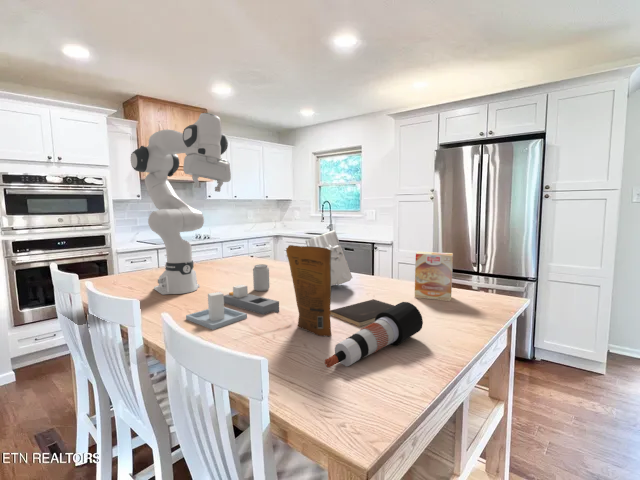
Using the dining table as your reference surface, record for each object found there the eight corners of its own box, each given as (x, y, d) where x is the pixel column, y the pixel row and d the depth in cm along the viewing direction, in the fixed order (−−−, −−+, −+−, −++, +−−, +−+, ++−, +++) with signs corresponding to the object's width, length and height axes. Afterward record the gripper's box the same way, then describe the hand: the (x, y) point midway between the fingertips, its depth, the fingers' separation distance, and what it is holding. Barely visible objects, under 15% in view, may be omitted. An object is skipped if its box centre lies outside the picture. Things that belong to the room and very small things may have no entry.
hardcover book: (403, 314, 127) (403, 308, 127) (359, 328, 114) (359, 321, 113) (372, 304, 140) (372, 298, 140) (329, 315, 126) (329, 309, 126)
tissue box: (355, 285, 158) (336, 233, 156) (321, 297, 159) (302, 245, 156) (351, 275, 179) (335, 229, 177) (322, 286, 180) (305, 240, 177)
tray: (186, 322, 119) (185, 315, 119) (220, 311, 130) (219, 305, 130) (213, 332, 109) (212, 325, 109) (247, 320, 120) (246, 313, 120)
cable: (324, 385, 86) (309, 346, 88) (403, 336, 108) (390, 305, 110) (348, 382, 79) (331, 340, 80) (428, 330, 100) (413, 298, 102)
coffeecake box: (414, 297, 147) (415, 253, 145) (416, 293, 154) (417, 251, 151) (451, 301, 141) (452, 255, 139) (451, 296, 148) (453, 252, 146)
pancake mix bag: (324, 341, 102) (323, 249, 99) (285, 325, 116) (284, 243, 113) (339, 335, 106) (339, 247, 103) (301, 320, 120) (299, 242, 117)
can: (266, 292, 158) (265, 266, 157) (251, 291, 160) (250, 266, 158) (271, 288, 165) (271, 263, 164) (257, 287, 167) (256, 263, 166)
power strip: (223, 305, 139) (222, 286, 138) (239, 300, 145) (238, 282, 144) (263, 317, 124) (263, 295, 123) (279, 311, 130) (278, 291, 129)
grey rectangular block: (208, 318, 120) (207, 293, 119) (221, 316, 122) (220, 291, 121) (212, 321, 117) (210, 296, 116) (224, 318, 120) (223, 293, 118)
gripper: (224, 161, 144) (223, 193, 144) (181, 149, 127) (180, 186, 127) (234, 159, 141) (233, 193, 140) (191, 147, 124) (190, 184, 123)
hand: (207, 189), depth 133 cm, fingers open, 8 cm apart
